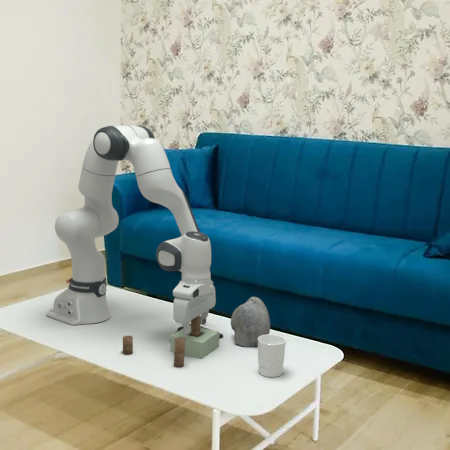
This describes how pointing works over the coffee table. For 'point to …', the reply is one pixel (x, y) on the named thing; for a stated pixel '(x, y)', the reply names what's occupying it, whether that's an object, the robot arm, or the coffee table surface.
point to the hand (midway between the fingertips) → (195, 328)
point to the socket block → (198, 342)
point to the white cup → (271, 355)
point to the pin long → (196, 326)
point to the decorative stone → (250, 322)
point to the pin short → (127, 345)
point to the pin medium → (179, 352)
